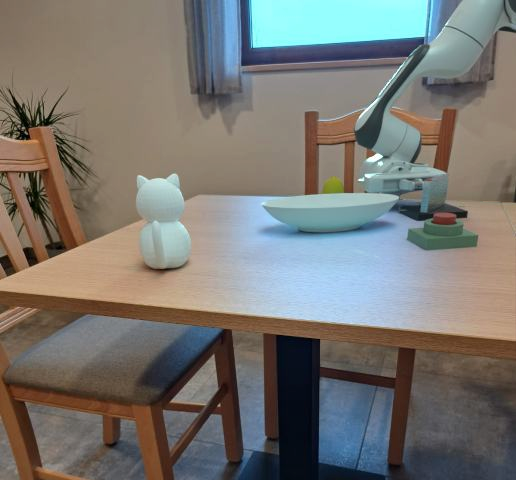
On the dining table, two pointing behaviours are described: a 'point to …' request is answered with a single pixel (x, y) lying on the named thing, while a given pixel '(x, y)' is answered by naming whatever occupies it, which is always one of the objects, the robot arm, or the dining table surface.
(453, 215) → the button
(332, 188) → the lemon
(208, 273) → the dining table surface
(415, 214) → the plate
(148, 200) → the cat figurine
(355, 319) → the dining table surface
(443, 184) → the blue card stand
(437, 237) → the green base
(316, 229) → the bowl
